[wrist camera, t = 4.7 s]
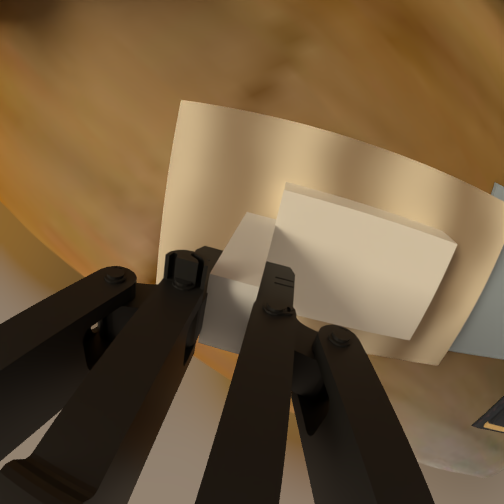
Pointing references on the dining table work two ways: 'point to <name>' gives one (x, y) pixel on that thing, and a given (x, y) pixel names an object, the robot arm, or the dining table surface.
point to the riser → (333, 182)
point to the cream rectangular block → (358, 262)
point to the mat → (486, 313)
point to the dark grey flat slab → (492, 418)
